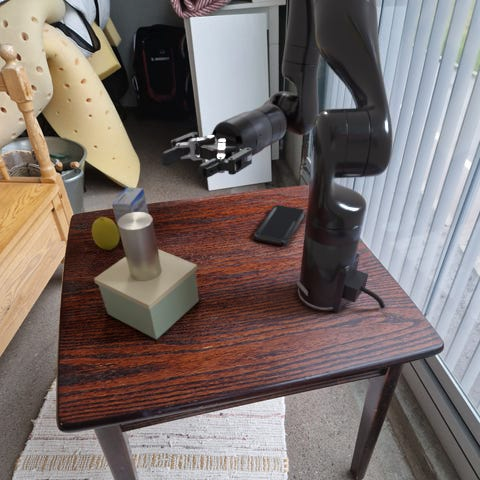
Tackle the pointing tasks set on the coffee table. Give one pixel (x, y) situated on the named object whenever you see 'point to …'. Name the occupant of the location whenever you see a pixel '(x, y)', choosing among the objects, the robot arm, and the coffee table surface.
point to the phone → (279, 225)
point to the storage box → (150, 294)
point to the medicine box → (129, 203)
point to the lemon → (105, 233)
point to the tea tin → (140, 245)
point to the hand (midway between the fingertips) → (181, 166)
